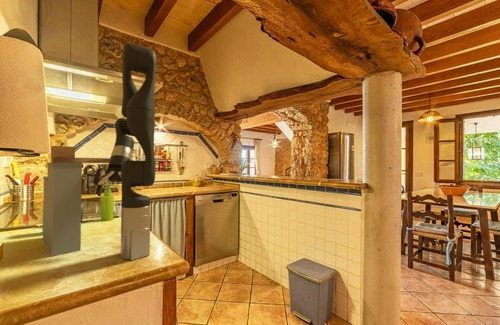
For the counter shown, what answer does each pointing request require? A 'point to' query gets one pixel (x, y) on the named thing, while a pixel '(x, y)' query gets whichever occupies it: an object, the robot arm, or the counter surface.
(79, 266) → the counter surface
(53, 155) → the mallet
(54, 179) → the tall stepped gray tower
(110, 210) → the soap dispenser
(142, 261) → the counter surface
